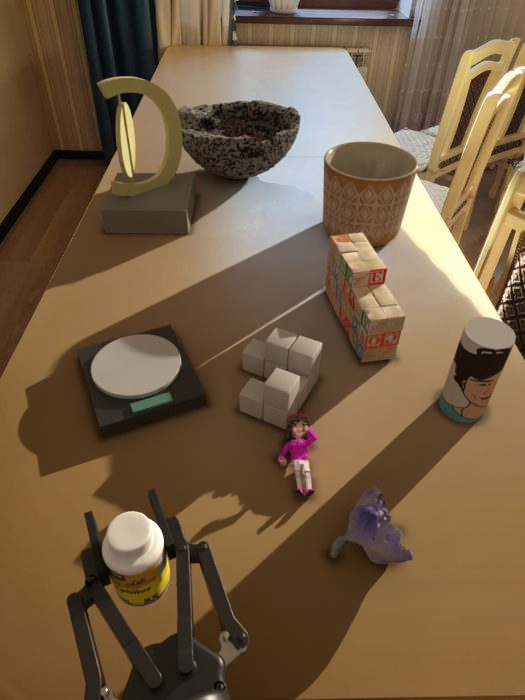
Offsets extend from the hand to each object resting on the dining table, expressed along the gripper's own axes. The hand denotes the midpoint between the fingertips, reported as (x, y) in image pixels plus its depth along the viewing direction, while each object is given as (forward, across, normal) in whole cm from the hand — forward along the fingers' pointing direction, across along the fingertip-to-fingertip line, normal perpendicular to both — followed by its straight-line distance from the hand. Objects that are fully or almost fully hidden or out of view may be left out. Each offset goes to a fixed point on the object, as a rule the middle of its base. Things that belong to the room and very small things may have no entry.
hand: (122, 508), depth 54 cm
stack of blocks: (+30, +48, -14) cm, 58 cm away
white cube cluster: (+21, +26, -14) cm, 36 cm away
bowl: (+97, +52, -14) cm, 111 cm away
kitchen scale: (+31, +8, -14) cm, 35 cm away
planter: (+58, +66, -14) cm, 89 cm away
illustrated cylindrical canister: (+6, +52, -14) cm, 54 cm away
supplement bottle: (-5, 0, -6) cm, 8 cm away
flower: (-8, +26, -14) cm, 31 cm away
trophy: (+84, +25, -15) cm, 89 cm away
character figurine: (+7, +24, -14) cm, 29 cm away
